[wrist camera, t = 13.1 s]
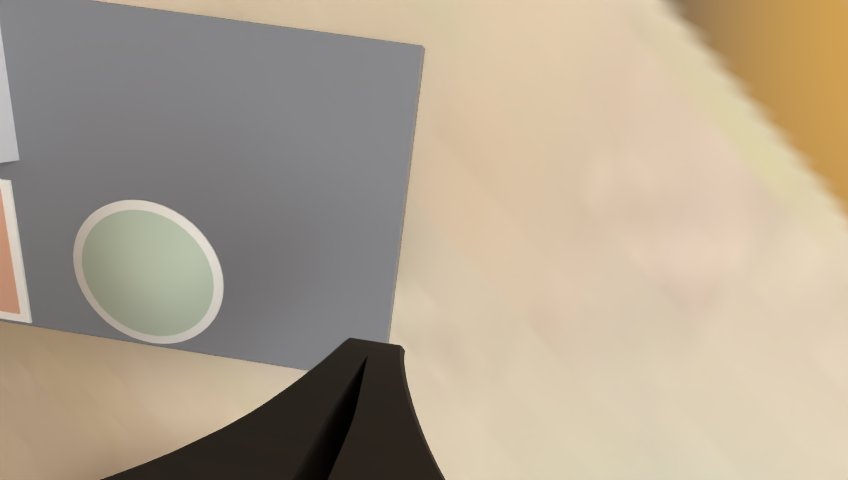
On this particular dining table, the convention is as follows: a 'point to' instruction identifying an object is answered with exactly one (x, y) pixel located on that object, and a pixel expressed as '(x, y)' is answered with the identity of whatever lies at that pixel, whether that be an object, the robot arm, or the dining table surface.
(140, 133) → the board
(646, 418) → the dining table surface
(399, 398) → the robot arm
